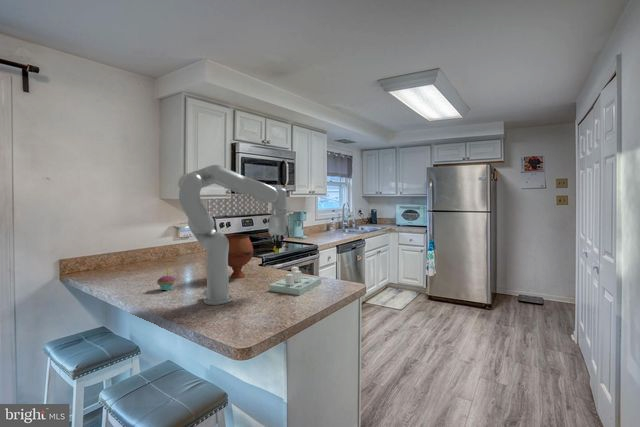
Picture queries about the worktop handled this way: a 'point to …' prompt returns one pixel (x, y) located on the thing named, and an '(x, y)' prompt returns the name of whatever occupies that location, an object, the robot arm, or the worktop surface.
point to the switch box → (295, 285)
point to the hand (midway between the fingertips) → (278, 248)
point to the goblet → (239, 253)
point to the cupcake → (166, 281)
